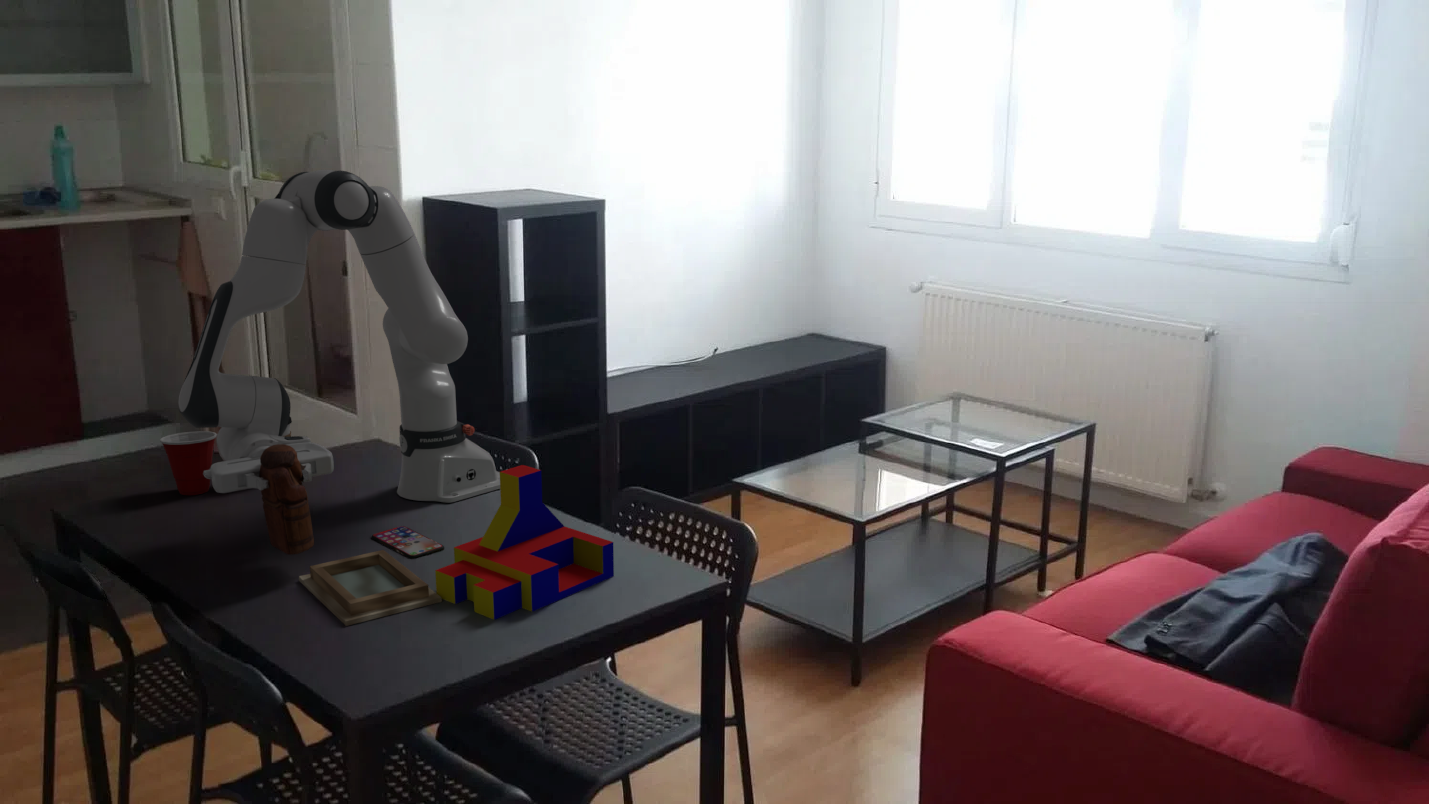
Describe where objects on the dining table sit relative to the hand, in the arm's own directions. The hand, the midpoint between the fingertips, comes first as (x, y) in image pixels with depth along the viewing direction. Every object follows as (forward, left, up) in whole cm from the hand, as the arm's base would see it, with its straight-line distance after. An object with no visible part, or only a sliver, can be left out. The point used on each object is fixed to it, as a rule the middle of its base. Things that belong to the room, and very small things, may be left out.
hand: (286, 481), depth 211 cm
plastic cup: (+2, -55, -17) cm, 58 cm away
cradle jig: (-8, +15, -17) cm, 23 cm away
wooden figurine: (-1, -1, -12) cm, 13 cm away
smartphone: (-22, -2, -17) cm, 28 cm away
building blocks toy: (-30, +27, -17) cm, 44 cm away
